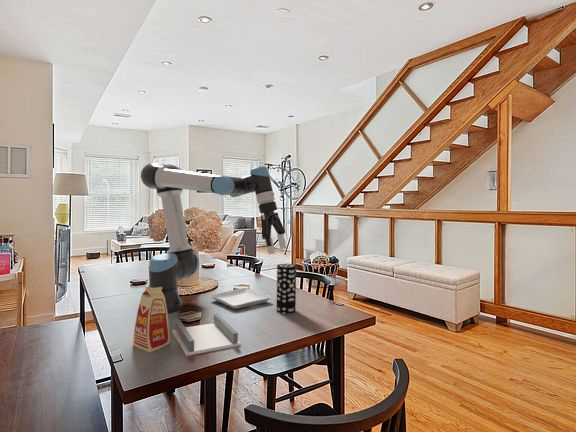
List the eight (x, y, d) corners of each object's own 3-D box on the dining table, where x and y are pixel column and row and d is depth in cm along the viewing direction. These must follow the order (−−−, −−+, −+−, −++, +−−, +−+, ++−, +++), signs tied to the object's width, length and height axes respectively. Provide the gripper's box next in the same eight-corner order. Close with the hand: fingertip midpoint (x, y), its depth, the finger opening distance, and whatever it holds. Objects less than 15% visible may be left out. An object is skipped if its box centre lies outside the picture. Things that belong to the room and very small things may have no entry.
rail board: (172, 332, 134) (172, 320, 134) (220, 324, 143) (220, 313, 142) (186, 356, 115) (186, 341, 115) (240, 345, 123) (240, 332, 123)
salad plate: (233, 312, 158) (233, 305, 158) (209, 301, 174) (209, 294, 174) (272, 303, 172) (272, 296, 172) (246, 294, 188) (246, 287, 188)
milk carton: (149, 352, 117) (149, 290, 116) (131, 345, 122) (131, 286, 121) (172, 342, 125) (172, 284, 124) (154, 336, 130) (154, 280, 128)
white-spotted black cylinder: (293, 314, 156) (294, 268, 155) (274, 313, 158) (275, 266, 156) (297, 308, 164) (297, 264, 163) (278, 307, 166) (279, 263, 165)
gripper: (263, 201, 144) (275, 254, 144) (284, 199, 168) (295, 245, 167) (246, 206, 147) (258, 257, 146) (269, 203, 170) (280, 248, 170)
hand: (278, 251), depth 157 cm, fingers open, 13 cm apart
